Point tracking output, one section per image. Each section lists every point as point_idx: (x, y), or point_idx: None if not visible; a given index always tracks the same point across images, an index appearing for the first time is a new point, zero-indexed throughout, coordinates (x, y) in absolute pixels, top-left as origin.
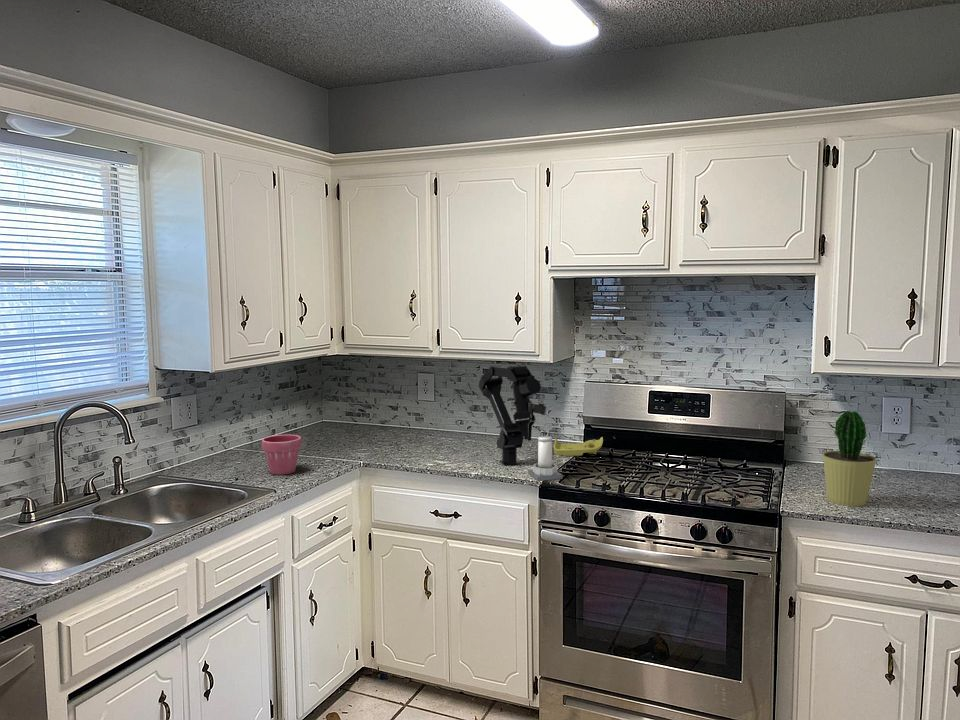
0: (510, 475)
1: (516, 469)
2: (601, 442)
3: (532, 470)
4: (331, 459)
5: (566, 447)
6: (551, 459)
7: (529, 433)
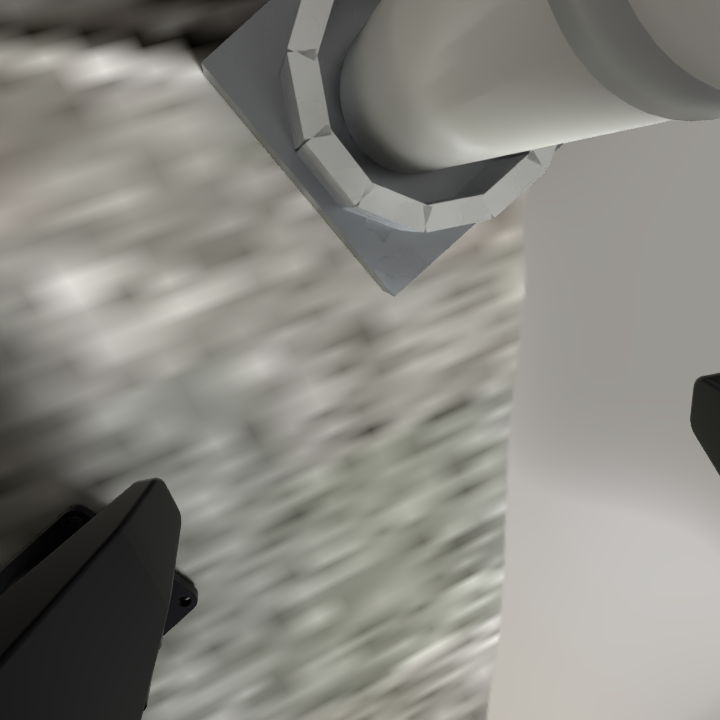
0: (472, 408)
1: (268, 448)
2: None
3: (388, 249)
4: None
5: None
6: None
7: (88, 622)
